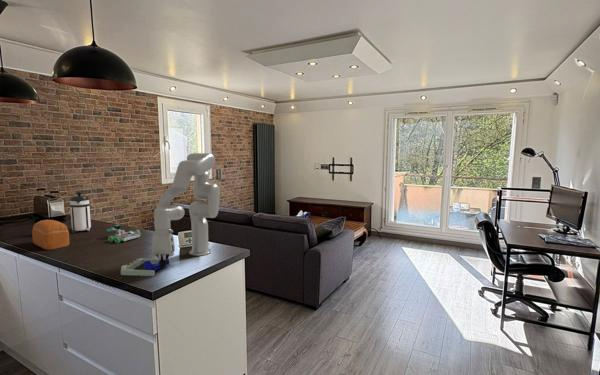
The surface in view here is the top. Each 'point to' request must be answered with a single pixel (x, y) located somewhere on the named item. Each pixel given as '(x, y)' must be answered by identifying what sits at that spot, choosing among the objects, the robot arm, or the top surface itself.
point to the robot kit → (122, 235)
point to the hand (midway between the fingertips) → (163, 266)
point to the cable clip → (150, 266)
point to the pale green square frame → (129, 270)
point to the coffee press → (80, 213)
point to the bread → (50, 234)
